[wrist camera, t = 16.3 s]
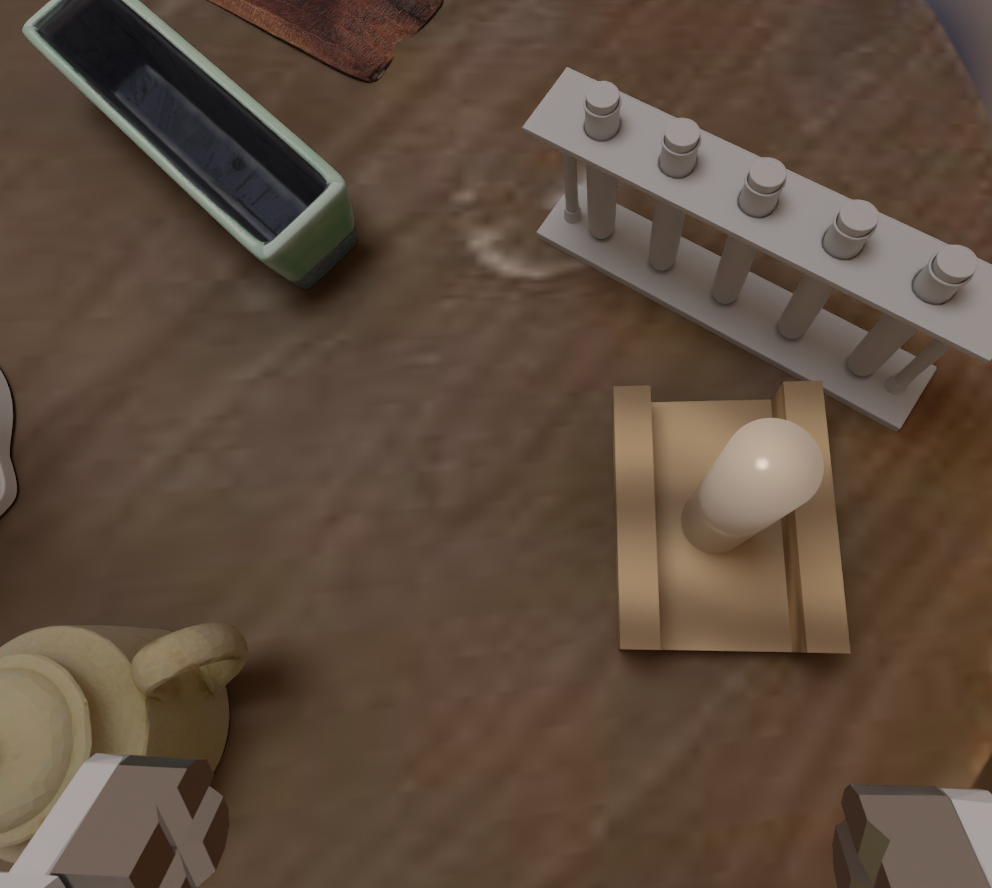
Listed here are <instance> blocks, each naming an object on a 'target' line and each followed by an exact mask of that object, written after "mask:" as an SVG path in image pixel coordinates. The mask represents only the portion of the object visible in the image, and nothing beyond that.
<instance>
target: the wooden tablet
mask: <svg viewBox="0 0 992 888" xmlns="http://www.w3.org/2000/svg"><path fill="white" fill-rule="evenodd" d="M207 1H210V2H211V3H213V4H216V5H218V6H220V7H222V8H224V9H225V10H228V11H230V12H231V13H233V14H235V15H237V16H239V17H241V18H243V19H245V20H246V21H248V22H250V23H252V24H254V25H256V26H258V27H259V28H261V29H263V30H265V31H266V32H268V33H270V34H271V35H273V36H275V37H277V38H279V39H281V40H283V41H285V42H287V43H289V44H290V45H292V46H294V47H296V48H298V49H300V50H302V51H303V52H305V53H307V54H309V55H310V56H312V57H314V58H316V59H317V60H319V61H320V62H322V63H325V64H327V65H328V66H330V67H332V68H334V69H335V70H337V71H339V72H342V73H344V74H346V75H348V76H351V77H353V78H357V79H359V80H362V81H366V82H370V83H371V82H373V81H377V80H378V79H379V78H380V77H381V76H382V75H383V73H384V72H385V70H386V69H387V67H388V66H389V65H390V63H391V61H392V60H393V57H394V50H395V44H396V42H399V41H402V40H404V39H408V38H410V37H412V36H413V35H414V34H416V33H417V32H419V31H420V30H421V29H422V28H423V27H424V26H425V25H426V24H427V23H428V22H429V21H430V20H431V18H432V17H433V16H434V15H435V13H436V12H437V10H438V9H439V7H440V6H441V5H442V0H207Z"/></svg>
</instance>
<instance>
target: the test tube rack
mask: <svg viewBox="0 0 992 888" xmlns="http://www.w3.org/2000/svg"><path fill="white" fill-rule="evenodd" d="M619 121H620V130H619ZM584 126H585V132H584ZM522 128H523V132H524V133H526V134H528V135H530V136H532V137H534V138H536V139H538V140H540V141H542V142H544V143H546V144H548V145H550V146H552V147H554V148H556V149H558V150H560V151H562V161H563V174H564V187H565V193H564V195H563V196H562V197H561V199H560V200H559V201H558V203H557V204H556V206H555V207H554V208H553V210H552V211H551V213H550V214H549V215H548V217H547V218H546V219H545V221H544V222H543V224H542V225H541V226H540V228H539V229H538V231H537V238H538V239H540V240H542V241H544V242H546V243H547V244H549V245H551V246H553V247H555V248H557V249H558V250H560V251H562V252H564V253H566V254H568V255H570V256H571V257H573V258H575V259H577V260H579V261H581V262H583V263H584V264H586V265H588V266H590V267H592V268H594V269H595V270H597V271H599V272H601V273H603V274H605V275H607V276H608V277H610V278H612V279H614V280H616V281H618V282H619V283H621V284H623V285H625V286H627V287H629V288H630V289H632V290H634V291H636V292H638V293H640V294H642V295H643V296H645V297H647V298H649V299H651V300H653V301H654V302H656V303H658V304H660V305H662V306H664V307H666V308H667V309H669V310H671V311H673V312H675V313H677V314H678V315H680V316H682V317H684V318H686V319H688V320H689V321H691V322H693V323H695V324H697V325H699V326H701V327H702V328H704V329H706V330H708V331H710V332H712V333H713V334H715V335H717V336H719V337H721V338H723V339H724V340H726V341H728V342H730V343H732V344H734V345H736V346H737V347H739V348H741V349H743V350H745V351H747V352H748V353H750V354H752V355H754V356H756V357H758V358H760V359H761V360H763V361H765V362H767V363H769V364H771V365H772V366H774V367H776V368H778V369H780V370H782V371H783V372H785V373H787V374H789V375H791V376H793V377H795V378H796V379H798V380H800V381H822V382H823V392H824V394H826V395H828V396H830V397H831V398H833V399H835V400H837V401H839V402H841V403H842V404H844V405H846V406H848V407H850V408H852V409H853V410H855V411H857V412H859V413H861V414H863V415H864V416H866V417H868V418H870V419H872V420H874V421H875V422H877V423H879V424H881V425H883V426H885V427H887V428H888V429H890V430H892V431H894V432H897V431H898V430H899V429H901V427H902V425H903V424H904V422H905V420H906V419H907V417H908V415H909V414H910V412H911V410H912V409H913V407H914V405H915V404H916V402H917V400H918V399H919V397H920V395H921V394H922V392H923V390H924V389H925V387H926V385H927V384H928V382H929V380H930V379H931V377H932V375H933V374H934V372H935V370H936V369H937V367H936V366H934V365H932V363H934V362H935V361H936V360H937V359H938V358H940V357H941V356H942V355H943V354H944V353H945V352H947V351H948V350H949V349H950V348H951V347H953V348H955V349H957V350H959V351H961V352H963V353H965V354H967V355H969V356H971V357H973V358H975V359H977V360H979V361H981V362H983V363H985V364H987V363H988V362H989V361H990V360H991V359H992V265H991V264H989V263H987V262H985V261H983V260H981V259H979V258H977V257H976V255H975V254H974V253H973V252H972V251H971V250H970V249H968V248H966V247H964V246H961V245H948V244H946V243H944V242H942V241H940V240H938V239H936V238H933V237H931V236H929V235H927V234H925V233H923V232H920V231H918V230H916V229H914V228H912V227H910V226H908V225H905V224H903V223H901V222H899V221H897V220H895V219H893V218H890V217H888V216H886V215H884V214H882V213H880V212H878V211H877V209H876V208H875V207H874V206H873V205H872V204H871V203H869V202H867V201H864V200H852V199H850V198H847V197H845V196H843V195H841V194H839V193H837V192H834V191H832V190H830V189H828V188H826V187H824V186H822V185H819V184H817V183H815V182H813V181H811V180H809V179H807V178H804V177H802V176H800V175H798V174H796V173H794V172H792V171H789V170H787V169H786V168H785V166H784V165H783V164H782V163H781V162H780V161H778V160H776V159H774V158H769V157H765V158H761V157H759V156H757V155H755V154H753V153H751V152H749V151H746V150H744V149H742V148H740V147H738V146H736V145H734V144H731V143H729V142H727V141H725V140H723V139H721V138H718V137H716V136H714V135H712V134H710V133H708V132H706V131H703V130H701V129H699V127H698V125H697V124H696V123H695V122H694V121H692V120H690V119H687V118H676V117H673V116H671V115H669V114H667V113H665V112H663V111H660V110H658V109H656V108H654V107H652V106H650V105H648V104H645V103H643V102H641V101H639V100H637V99H635V98H633V97H630V96H628V95H626V94H624V93H622V92H620V91H618V89H617V87H616V86H615V85H614V84H612V83H610V82H607V81H596V80H594V79H592V78H590V77H587V76H585V75H583V74H581V73H579V72H577V71H575V70H572V69H570V68H568V67H567V68H566V69H565V71H564V72H563V73H562V75H561V76H560V77H559V79H558V80H557V81H556V83H555V84H554V85H553V87H552V88H551V89H550V91H549V92H548V93H547V95H546V96H545V97H544V99H543V100H542V101H541V103H540V104H539V105H538V107H537V108H536V109H535V111H534V112H533V113H532V115H531V116H530V117H529V119H528V120H527V122H526V123H525V124H524V126H523V127H522ZM576 159H578V160H580V161H582V162H584V163H586V172H587V188H585V187H583V186H582V185H580V184H578V183H577V162H576ZM659 160H660V166H659ZM695 162H696V167H695ZM694 167H695V169H694ZM617 179H618V180H620V181H622V182H624V183H626V184H628V185H630V186H632V187H634V188H636V189H638V190H640V191H642V192H644V193H646V194H648V195H650V196H652V197H654V198H655V206H654V214H653V222H652V221H650V220H648V219H646V218H644V217H642V216H640V215H638V214H636V213H634V212H632V211H630V210H628V209H626V208H624V207H623V206H621V205H619V204H617V203H616V198H617ZM740 194H741V195H740ZM739 196H740V198H739ZM738 198H739V202H738ZM776 203H777V206H776V208H775V205H776ZM774 208H775V210H774ZM773 210H774V211H773ZM685 213H686V214H688V215H690V216H692V217H694V218H696V219H698V220H700V221H702V222H704V223H706V224H708V225H710V226H712V227H714V228H716V229H718V230H720V231H722V232H724V233H725V234H727V235H728V237H727V240H726V243H725V246H724V250H723V253H722V256H721V257H720V256H718V255H716V254H714V253H712V252H711V251H709V250H707V249H705V248H703V247H701V246H699V245H697V244H695V243H693V242H691V241H689V240H687V239H685V238H683V237H681V233H682V228H683V223H684V218H685ZM826 232H827V233H826ZM825 233H826V235H825V237H824V239H823V236H824V234H825ZM822 239H823V240H822ZM862 247H863V248H862ZM861 248H862V250H861ZM757 250H759V251H761V252H763V253H765V254H767V255H769V256H771V257H773V258H775V259H777V260H779V261H781V262H783V263H785V264H787V265H789V266H791V267H793V268H795V269H797V270H799V271H801V272H803V273H804V275H803V277H802V279H801V280H800V282H799V284H798V286H797V288H796V290H795V291H794V293H791V292H789V291H787V290H785V289H783V288H781V287H779V286H777V285H775V284H773V283H771V282H769V281H767V280H765V279H763V278H761V277H759V276H757V275H756V274H754V273H752V272H750V271H749V270H750V268H751V265H752V263H753V260H754V258H755V255H756V253H757ZM860 250H861V252H860V253H859V251H860ZM858 253H859V254H858ZM857 254H858V256H857ZM856 256H857V257H856ZM920 271H921V272H920ZM919 272H920V273H919ZM918 273H919V274H918ZM917 274H918V275H917ZM916 275H917V277H916V278H915V279H914V277H915V276H916ZM913 279H914V280H913ZM834 289H837V290H839V291H841V292H843V293H845V294H847V295H849V296H851V297H853V298H855V299H857V300H859V301H861V302H863V303H865V304H867V305H869V306H871V307H873V308H875V309H877V310H879V311H881V312H883V313H885V314H884V315H883V316H882V317H881V319H880V320H879V321H878V322H877V323H876V324H875V325H874V327H873V328H872V329H871V330H870V331H869V332H867V331H865V330H863V329H861V328H859V327H857V326H855V325H853V324H851V323H849V322H847V321H846V320H844V319H842V318H840V317H838V316H836V315H834V314H832V313H830V312H828V311H826V310H824V309H822V308H823V306H824V305H825V303H826V301H827V300H828V298H829V297H830V295H831V294H832V292H833V291H834ZM952 295H953V297H952V298H951V299H950V300H949V301H948V302H947V303H945V302H946V301H947V300H948V299H949V298H950V297H951V296H952ZM944 303H945V304H944ZM917 330H919V331H921V332H923V333H925V334H927V335H929V336H931V337H933V338H935V340H934V341H933V342H932V343H931V344H930V345H928V346H927V347H926V348H925V349H924V350H923V351H922V352H921V353H920V354H919V355H917V356H914V355H912V354H910V353H908V352H906V351H904V350H902V349H900V347H901V346H902V345H903V344H904V343H905V342H906V341H907V340H908V339H909V338H910V337H911V336H912V335H913V334H914V333H915V332H916V331H917Z"/></svg>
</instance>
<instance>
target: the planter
mask: <svg viewBox="0 0 992 888" xmlns="http://www.w3.org/2000/svg"><path fill="white" fill-rule="evenodd" d="M22 32H23V33H24V35H25V36H26V38H27V39H28V40H29V41H30V42H31V43H32V44H33V45H34V46H35V47H36V48H37V49H38V50H39V51H40V52H41V53H42V54H43V55H44V56H45V57H46V58H47V59H48V60H49V61H50V62H51V63H52V64H53V65H54V66H55V67H56V68H57V69H58V70H59V71H60V72H61V73H62V74H63V75H64V76H66V77H67V78H68V79H69V80H70V81H71V82H72V83H73V84H74V85H75V86H76V87H77V88H78V89H79V90H80V91H81V92H82V93H83V94H84V95H85V96H86V97H87V98H88V99H89V100H90V101H91V102H93V103H94V104H95V105H96V106H97V107H98V108H99V109H100V110H101V111H102V112H103V113H104V114H105V115H106V116H107V117H108V118H109V119H110V120H111V121H112V122H113V123H114V124H115V125H117V126H118V127H119V128H120V129H121V130H122V131H123V132H124V133H125V134H126V135H127V136H128V137H129V138H130V139H131V140H132V141H133V142H134V143H135V144H136V145H137V146H138V147H139V148H141V149H142V150H143V151H144V152H145V153H146V154H147V155H148V156H149V157H150V158H151V159H152V160H153V161H154V162H155V163H156V164H157V165H158V166H159V167H160V168H161V169H163V170H164V171H165V172H166V173H167V174H168V175H169V176H170V177H171V178H172V179H173V180H174V181H175V182H176V183H177V184H178V185H179V186H180V187H181V188H182V189H184V190H185V191H186V192H187V193H188V194H189V195H190V196H191V197H192V198H193V199H194V200H195V201H196V202H197V203H198V204H199V205H200V206H201V207H202V208H204V209H205V210H206V211H207V212H208V213H209V214H210V215H211V216H212V217H213V218H214V219H215V220H216V221H217V222H218V223H219V224H220V225H221V226H222V227H224V228H225V229H226V230H227V231H228V232H229V233H230V234H231V235H232V236H233V237H234V238H235V239H236V240H237V241H238V242H240V243H241V244H242V245H243V246H244V247H245V248H246V249H247V250H248V251H249V252H250V253H252V254H253V255H254V256H255V257H256V258H257V259H258V260H260V261H261V262H262V263H264V264H265V265H266V266H268V267H269V268H271V269H272V270H274V271H275V272H277V273H278V274H280V275H281V276H283V277H284V278H286V279H287V280H289V281H290V282H292V283H293V284H295V285H297V286H298V287H300V288H302V289H309V288H311V287H312V286H313V285H314V284H315V283H316V282H318V281H319V280H320V279H321V278H322V277H323V276H324V275H325V274H326V273H327V272H328V271H329V270H330V269H331V268H332V267H333V266H335V265H336V264H337V263H338V262H339V261H340V260H341V259H342V258H343V257H344V256H345V255H346V254H347V253H348V252H349V251H350V250H351V249H352V248H353V247H354V246H355V244H356V241H357V239H356V229H355V222H354V216H353V210H352V204H351V199H350V194H349V190H348V186H347V184H346V182H345V181H344V179H343V178H342V177H341V176H340V174H338V173H337V172H336V171H335V170H334V169H333V168H332V167H331V166H330V165H329V164H328V163H327V162H326V161H324V160H323V159H322V158H321V157H320V156H319V155H318V154H316V153H315V152H314V151H313V150H312V149H311V148H310V147H308V146H307V145H306V144H305V143H304V142H303V141H302V140H300V139H299V138H298V137H297V136H296V135H295V134H294V133H292V132H291V131H290V130H289V129H288V128H287V127H285V126H284V125H283V124H282V123H281V122H280V121H279V120H277V119H276V118H275V117H274V116H273V115H272V114H270V113H269V112H268V111H267V110H266V109H265V108H264V107H262V106H261V105H260V104H259V103H258V102H257V101H255V100H254V99H253V98H252V97H251V96H250V95H248V94H247V93H246V92H245V91H244V90H243V89H241V88H240V87H239V86H238V85H237V84H236V83H235V82H233V81H232V80H231V79H230V78H229V77H228V76H226V75H225V74H224V73H223V72H222V71H221V70H219V69H218V68H217V67H216V66H215V65H214V64H212V63H211V62H210V61H209V60H208V59H207V58H205V57H204V56H203V55H202V54H201V53H200V52H198V51H197V50H196V49H195V48H194V47H193V46H192V45H190V44H189V43H188V42H187V41H186V40H185V39H183V38H182V37H181V36H180V35H179V34H178V33H176V32H175V31H174V30H173V29H172V28H171V27H169V26H168V25H167V24H166V23H165V22H164V21H162V20H161V19H160V18H159V17H158V16H157V15H155V14H154V13H153V12H152V11H151V10H149V9H148V8H147V7H146V6H145V5H144V4H142V3H141V2H140V1H139V0H51V1H49V2H48V3H47V4H46V5H45V6H44V7H43V8H41V9H40V10H39V11H38V12H37V13H36V14H35V15H33V16H32V17H31V18H30V19H29V20H28V21H27V22H26V23H25V25H24V27H23V30H22Z"/></svg>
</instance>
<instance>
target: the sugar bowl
mask: <svg viewBox="0 0 992 888" xmlns="http://www.w3.org/2000/svg"><path fill="white" fill-rule="evenodd" d="M247 656H248V648H247V643H246V641H245V638H244V636H243V635H242V634H241V633H240V631H239V630H238V629H237V628H236V627H234V626H232V625H230V624H226V623H221V622H217V623H205V624H199V625H195V626H191V627H187V628H184V629H181V630H178V631H175V632H172V631H168V630H164V629H153V628H137V627H126V626H103V625H64V626H49V627H44V628H39V629H35V630H32V631H29V632H26V633H24V634H22V635H20V636H18V637H16V638H14V639H12V640H11V641H9V642H7V643H5V644H4V645H3V646H2V647H0V859H2V860H4V861H7V862H11V863H15V862H16V861H17V859H18V858H19V856H20V855H21V853H22V852H23V851H24V849H25V848H26V846H27V845H28V843H29V842H30V840H31V839H32V837H33V836H34V834H35V833H36V831H37V830H38V829H39V827H40V826H41V824H42V823H43V821H44V820H45V818H46V817H47V815H48V814H49V812H50V811H51V809H52V808H53V807H54V805H55V804H56V802H57V801H58V799H59V798H60V796H61V795H62V793H63V792H64V790H65V789H66V788H67V786H68V785H69V783H70V782H71V780H72V779H73V777H74V776H75V774H76V773H77V771H78V770H79V768H80V767H81V766H82V764H83V763H84V762H85V761H87V760H88V759H89V758H91V757H92V756H93V755H95V754H96V753H107V754H131V755H142V756H159V757H177V758H194V759H207V761H208V763H209V765H210V767H211V769H212V771H213V772H214V771H215V769H216V767H217V765H218V763H219V761H220V759H221V757H222V754H223V751H224V747H225V744H226V740H227V735H228V727H229V717H230V714H229V701H228V694H227V689H226V686H225V685H226V684H228V683H229V682H230V681H231V680H232V679H233V678H234V677H235V676H236V675H237V674H238V673H239V672H240V671H241V670H242V668H243V667H244V665H245V663H246V661H247Z"/></svg>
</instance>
